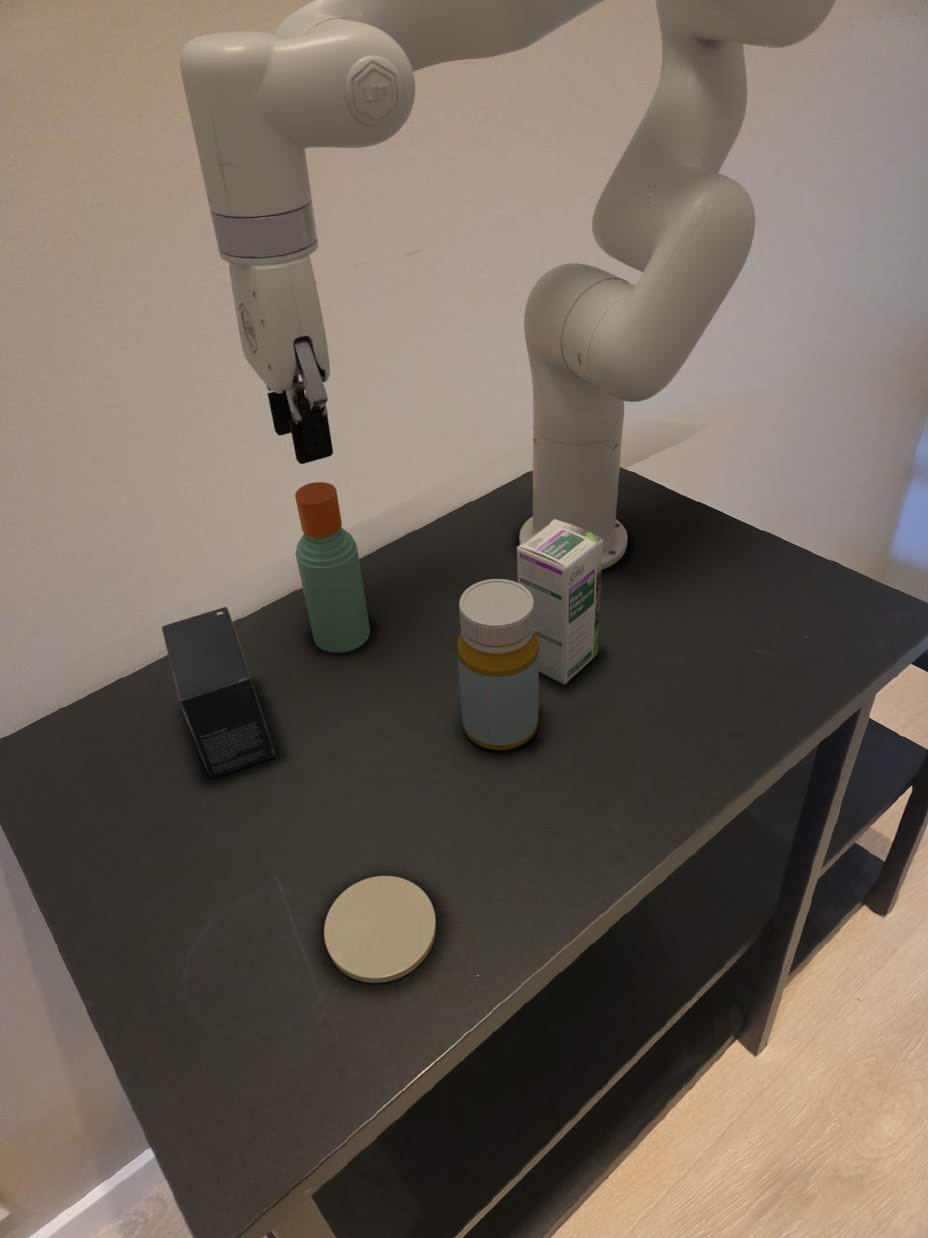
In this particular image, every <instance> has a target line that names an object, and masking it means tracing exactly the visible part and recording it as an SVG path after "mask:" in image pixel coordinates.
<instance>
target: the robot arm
mask: <svg viewBox="0 0 928 1238" xmlns="http://www.w3.org/2000/svg"><path fill="white" fill-rule="evenodd" d="M604 1H605V0H312V1H311V2H309V3H306V4H305V5H304V6H301V8H299V9H297V10H295V11H294V12H293V13H291V14H290V15H288V17H286V18H285V19H283V21H282V22H281V23H280V24H279V26H277V28H276V29H275V30H274V32H273V33H270V32H267V31H266V32H265V31H257V30H241V31H240V30H239V31H237V30H236V31H225V32H224V31H223V32H216V33H209V34H205V35H201V36H197V37H194V38H192V39H190V40H189V41H187V42H186V43H185V44H184V45H183V47H182V49H181V52H180V56H179V68H180V73H181V80H182V85H183V89H184V94H185V98H186V99H185V100H186V103H187V107H188V113H189V117H190V122H191V126H192V127H191V128H192V130H193V137H194V140H195V145H196V149H197V150H196V151H197V155H198V158H199V164H200V168H201V174H202V178H203V183H204V187H205V194H206V197H207V202H208V207H209V212H210V215H211V219H212V220H211V221H212V225H213V230H214V235H215V240H216V244H217V248H218V253H219V257H220V258H221V260H223V261H224V262H226V263H228V269H229V276H230V284H231V291H232V296H233V301H234V302H233V303H234V310H235V315H236V319H237V320H236V321H237V326H238V333H239V338H240V345H241V349H242V353H243V356H244V358H245V360H246V361H247V363H248V364H249V365H250V367H251V368H252V370H254V372H255V373H256V374H257V375H258V377H259V378H260V379H261V381H262V382H263V383H264V384H265V385H266V389H267V391H268V392H267V397H268V398H267V399H268V404H269V409H270V413H271V418H272V424H273V429H274V432H275V433H276V435H277V436H285V435H289V434H291V438H292V444H293V451H294V455H295V459H296V461H297V463H298V464H300V465H304V464H308V463H312V462H315V461H319V460H323V459H326V458H329V457H331V456H332V455H333V454H334V449H333V443H332V436H331V429H330V423H329V422H330V421H329V417H328V416H329V412H328V408H327V402H328V399H329V398H328V394H327V393H328V392H327V390H326V387H325V385H324V383H326V382H327V381H328V380H329V378H330V376H331V366H330V365H331V364H330V363H331V362H330V356H329V355H330V354H329V347H328V341H327V336H326V335H327V334H326V328H325V323H324V318H323V317H324V316H323V312H322V307H321V303H320V302H321V301H320V296H319V292H318V287H317V281H316V277H315V273H314V269H313V264H312V259H311V256H310V255H312V254H313V253H314V252H316V251H317V249H318V248H319V240H318V232H317V225H316V224H317V223H316V218H315V211H314V205H313V204H314V203H313V198H312V191H311V184H310V176H309V169H308V162H307V161H308V160H307V155H306V149H308V148H310V149H311V148H315V149H316V148H335V149H336V148H337V149H338V148H339V149H340V148H341V149H344V148H345V149H360V148H367V147H373V146H377V145H380V144H381V143H384V142H386V141H388V140H389V139H391V138H392V137H393V136H395V135H396V134H397V133H398V132H399V131H400V130H401V129H402V128H403V127H404V126H405V124H406V122H407V121H408V119H409V117H410V116H411V113H412V111H413V107H414V103H415V98H416V80H415V79H416V78H415V74H414V73H415V72H417V71H419V70H423V69H426V68H428V67H433V66H436V65H440V64H445V63H450V62H457V61H466V60H478V59H479V60H480V59H488V58H494V57H498V56H503V55H505V54H510V53H514V52H517V51H521V50H524V49H526V48H528V47H530V46H532V45H533V44H535V43H537V42H539V41H540V40H542V39H543V38H545V37H547V36H548V35H550V34H551V33H552V32H555V31H556V30H558V29H559V28H561V27H563V26H564V25H566V24H568V23H569V22H571V21H572V20H574V19H576V18H578V17H579V16H581V15H582V14H584V13H585V12H588V11H589V10H591V9H593V8H594V7H596V6H597V5H598V4H600V3H603V2H604ZM835 3H836V0H655V6H656V13H657V17H658V24H659V31H660V41H661V65H660V74H659V79H658V83H657V86H656V89H655V91H654V94H653V96H652V98H651V101H650V103H649V105H648V106H647V109H646V110H645V113H644V115H643V117H642V119H641V121H640V123H639V125H638V126H637V128H636V130H635V132H634V133H633V135H632V137H631V139H630V140H629V142H628V144H627V146H626V148H625V150H624V152H623V153H622V155H621V157H620V159H619V160H618V162H617V164H616V166H615V168H614V169H613V171H612V174H611V175H610V177H609V179H608V181H607V182H606V183H605V186H604V188H603V190H602V192H601V194H600V195H599V198H598V200H597V202H596V205H595V207H594V212H593V214H592V218H591V230H592V236H593V238H594V240H595V242H596V244H597V246H598V247H599V248H600V249H601V250H602V251H603V252H604V253H605V254H606V255H608V256H609V257H610V258H612V259H614V260H616V261H618V262H619V263H622V264H624V265H626V266H628V267H630V268H632V269H635V270H637V271H640V273H641V272H642V273H641V275H640V278H639V279H638V281H637V282H636V284H633V283H631V282H629V280H626V279H624V278H621V277H619V276H617V275H615V274H612V273H611V272H608V271H606V270H604V269H601V268H599V267H596V266H593V265H590V264H586V263H585V264H584V263H579V262H578V263H577V262H576V263H575V262H574V263H573V262H572V263H571V262H570V263H565V264H560V265H557V266H555V267H553V268H551V269H549V270H548V271H547V272H545V273H544V274H542V275H541V277H539V278H538V280H537V281H536V282H535V284H534V285H533V286H532V288H531V291H530V293H529V295H528V298H527V300H526V304H525V309H524V315H523V316H524V317H523V319H524V320H523V329H524V338H525V346H526V351H527V356H528V361H529V368H530V374H531V383H532V516H531V517H530V518H528V519H527V520H526V521H525V522H524V523H523V524H522V526H521V528H520V531H519V535H518V536H519V537H518V539H519V545H521V544H522V543H524V542H525V541H526V540H527V539H529V538H530V537H531V536H533V535H534V534H535V533H537V532H538V531H540V530H541V529H543V528H544V527H546V526H547V525H549V524H550V522H551V521H553V520H554V519H556V520H558V521H562V522H565V523H568V524H571V525H574V526H577V527H579V528H581V529H584V530H586V531H588V532H590V533H592V534H594V535H596V536H598V537H600V538H602V540H603V549H602V570H605V569H608V568H610V567H611V566H613V565H615V564H616V563H617V562H619V560H620V559H622V558H623V556H624V555H625V553H626V551H627V548H628V538H629V537H628V533H627V530H626V528H625V526H624V525H623V524H622V523H621V521H620V520H618V519H617V505H618V496H619V495H618V493H619V482H620V468H621V454H622V443H623V431H624V430H623V429H624V419H625V402H628V403H629V402H630V403H638V402H639V403H640V402H642V401H646V400H648V399H651V398H652V397H655V396H656V395H657V394H659V393H660V392H662V391H663V390H664V389H665V388H666V387H667V386H668V385H669V384H670V383H671V382H672V381H673V380H674V379H675V377H676V375H678V373H679V371H680V370H681V368H682V367H683V366H684V364H685V363H686V361H687V360H688V358H689V357H690V355H691V354H692V352H693V351H694V350H695V347H696V345H697V344H698V342H699V341H700V340H701V337H702V336H703V334H704V332H705V331H706V329H707V328H708V326H709V325H710V323H711V321H712V320H713V318H714V316H716V314H717V312H718V310H719V309H720V307H721V305H722V304H723V302H724V301H725V299H726V297H727V296H728V294H729V293H730V291H731V290H732V288H733V286H734V285H735V283H736V281H737V279H738V277H739V275H740V274H741V272H742V270H743V269H744V267H745V265H746V262H747V260H748V257H749V254H750V253H751V249H752V245H753V240H754V236H755V229H756V211H755V206H754V203H753V201H752V200H753V199H752V198H751V196H750V194H749V193H748V191H747V189H745V187H744V186H742V185H741V183H739V182H738V181H736V180H734V179H732V178H731V177H729V176H727V175H724V174H721V173H720V170H721V169H722V167H723V165H724V163H725V161H726V160H727V157H728V156H729V153H730V152H731V150H732V148H733V146H734V144H735V143H736V141H737V139H738V137H739V134H740V132H741V130H742V127H743V125H744V120H745V116H746V111H747V104H748V78H747V70H746V60H745V59H746V58H745V50H744V45H749V46H756V47H762V48H772V49H780V48H787V47H791V46H794V45H796V44H798V43H801V42H803V41H804V40H805V39H807V38H808V37H810V36H811V35H812V34H813V33H814V32H816V31H817V29H819V27H820V26H821V25H822V24H823V23H824V22H825V20H826V19H827V17H828V16H829V15H830V13H831V11H832V9H833V8H834V5H835ZM299 376H300V378H301V380H300V378H299Z"/></svg>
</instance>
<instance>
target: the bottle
mask: <svg viewBox="0 0 928 1238" xmlns="http://www.w3.org/2000/svg"><path fill="white" fill-rule="evenodd" d="M458 610H459V624H460V632H459V635H458V639H457V641H456V656H457V668H458V669H457V671H458V681H459V682H458V683H459V684H458V685H459V696H460V710H461V721H462V727H463V731H464V733H465V734H466V736H467V737H468V739H469V740H470V741H472V742H473V743H475V745H478V746H480V747H483V748H485V749H488V750H491V751H508V750H512V749H514V748H517V747H520V746H522V745H524V744H526V742H527V741H528V742H529V740H530V739H532V737H534V734H535V733H536V731H537V728H538V725H539V693H540V692H539V689H540V688H539V685H540V684H539V683H540V682H539V681H540V680H539V678H540V672H539V642H538V638H537V635H536V633H535V631H534V627H533V623H534V600H533V597H532V594H531V593H530V591H529V590H528V589H527V588H526V587H524V586H523V585H521V584H519V583H518V581H515V580H510V579H504V578H490V579H485V580H481V581H478V582H476V583H473V584H472V585H470V586H469V587H468V588H466V589H465V590H464V591H463V593H462V594H461V596H460V599H459V603H458Z"/></svg>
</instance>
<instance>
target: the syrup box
mask: <svg viewBox="0 0 928 1238" xmlns="http://www.w3.org/2000/svg"><path fill="white" fill-rule="evenodd" d="M602 549H603V540H602V538H600V537H598V536H596V535H594V534H592V533H590V532H588V531H586V530H584V529H581V528H579V527H577V526H574V525H571V524H568V523H565V522H562V521H558V520H556V519H554V520H553V521H551V522H550V524H549V525H547V526H546V527H544V528H543V529H541V530H540V531H538V532H537V533H535V534H534V535H533V536H531V537H530V538H529V539H527V540H526V541H525V542H524V543H522V544H521V545H520V544H519V545H518V546H516V565H517V566H516V569H517V572H516V573H517V583H519V584H521V585H523V586H524V587H526V588H527V589H528V590H529V591H530V593H531V594H532V597H533V600H534V623H533V627H534V631H535V633H536V635H537V638H538V642H539V673H541V674H543V675H544V676H547V677H549V678H550V679H551V680H554V681H555V682H557V683H559V684H562V685H566V684H568V683H569V681H570V680H571V679H573V677H575V675H577V674H578V673H579V672H580V671H582V670H583V668H585V667H586V666H587V665H588V664H589V663H590V662H591V661H593V659H594V658H595V657H596V656H597V655H598V654H599V634H600V633H599V631H600V610H601V591H602V570H603V569H602Z"/></svg>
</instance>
